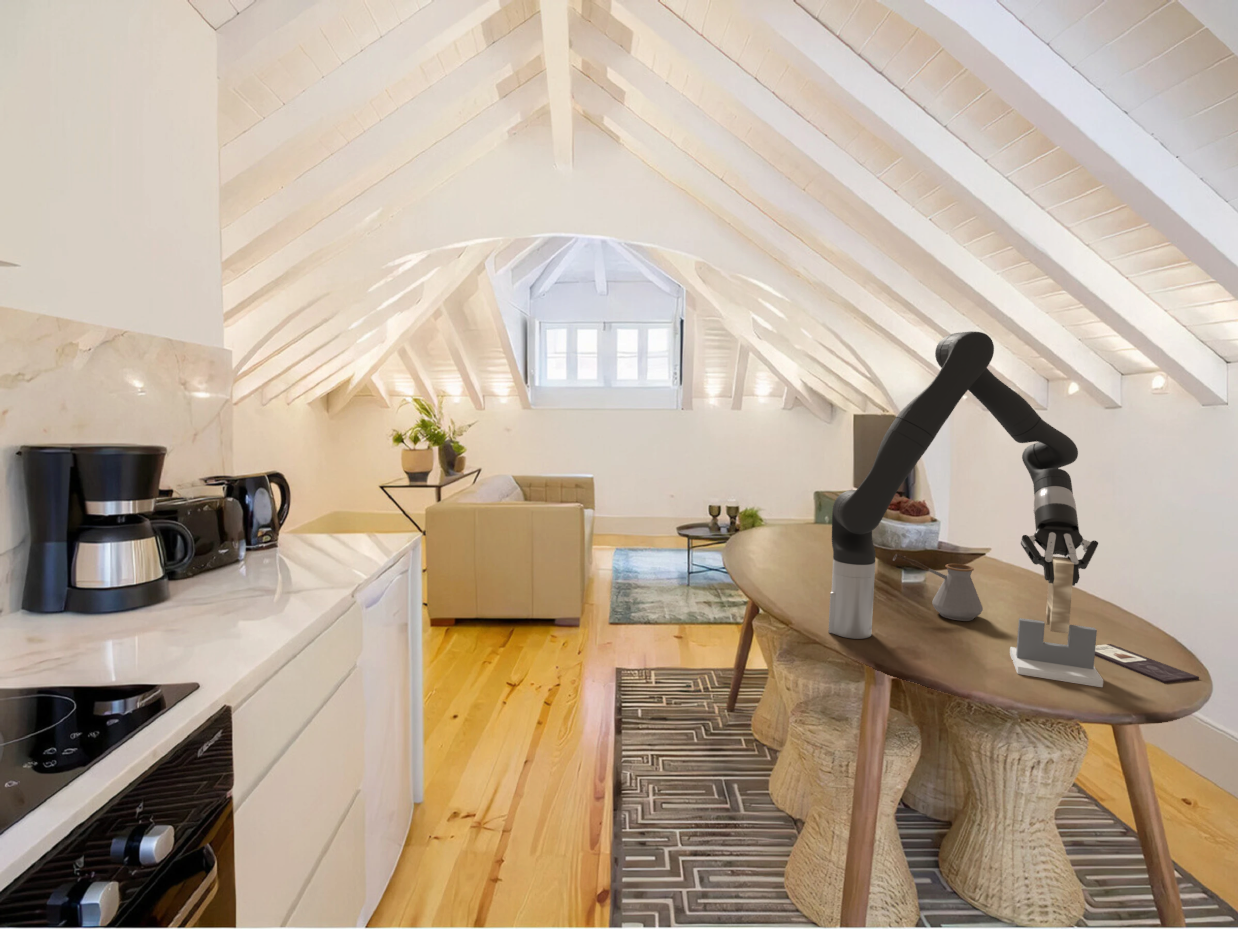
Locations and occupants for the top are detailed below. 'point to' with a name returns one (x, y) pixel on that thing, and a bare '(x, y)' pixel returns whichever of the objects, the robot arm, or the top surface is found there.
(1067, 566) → the birch slotted plate
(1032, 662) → the grey notched stand
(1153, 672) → the chocolate bar
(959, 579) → the coffee pot
